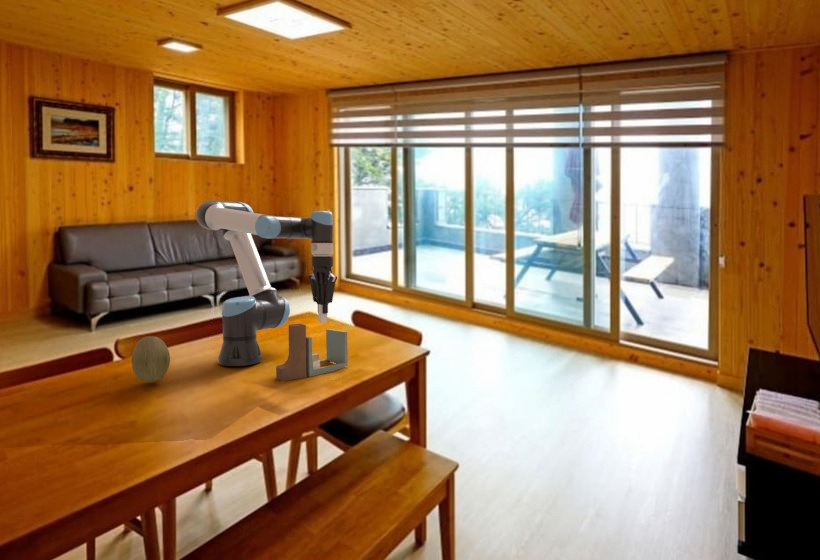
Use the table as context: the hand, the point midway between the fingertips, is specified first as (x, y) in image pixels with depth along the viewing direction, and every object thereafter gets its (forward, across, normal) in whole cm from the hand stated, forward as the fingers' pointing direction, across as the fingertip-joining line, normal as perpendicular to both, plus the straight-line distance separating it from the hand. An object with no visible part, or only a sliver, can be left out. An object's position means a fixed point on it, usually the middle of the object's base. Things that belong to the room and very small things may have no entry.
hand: (322, 322), depth 194 cm
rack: (+17, 0, -2) cm, 17 cm away
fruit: (+17, -29, -47) cm, 58 cm away
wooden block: (+17, +2, -15) cm, 23 cm away
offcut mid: (+15, 0, -6) cm, 16 cm away
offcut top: (+12, +1, -6) cm, 14 cm away
